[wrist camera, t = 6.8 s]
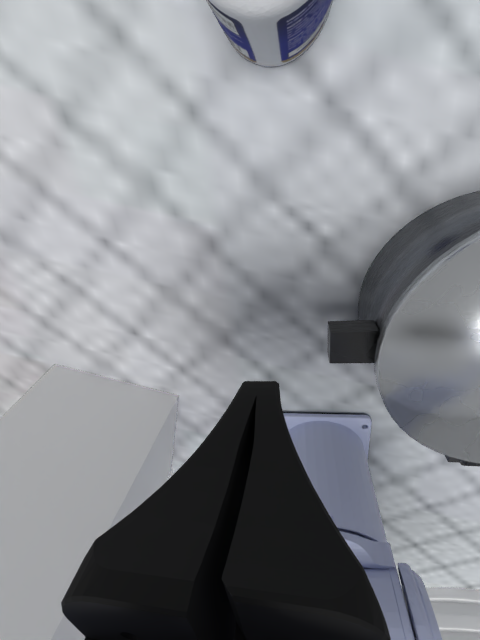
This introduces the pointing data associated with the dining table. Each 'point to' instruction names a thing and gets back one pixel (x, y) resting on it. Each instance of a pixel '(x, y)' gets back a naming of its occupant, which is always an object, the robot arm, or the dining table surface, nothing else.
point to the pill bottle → (271, 27)
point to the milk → (71, 485)
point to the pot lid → (436, 355)
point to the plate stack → (456, 612)
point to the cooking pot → (401, 275)
